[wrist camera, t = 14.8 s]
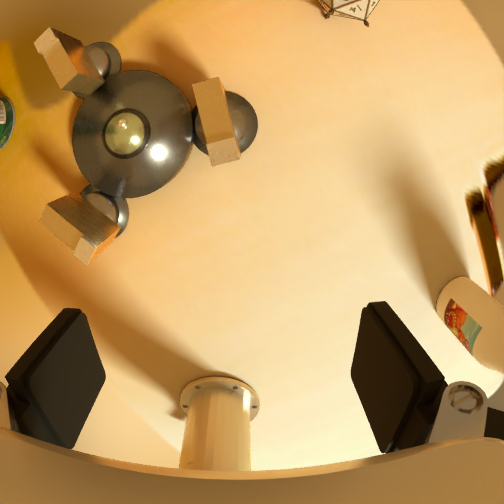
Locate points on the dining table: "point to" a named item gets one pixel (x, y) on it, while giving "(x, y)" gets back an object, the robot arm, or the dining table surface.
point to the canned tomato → (6, 120)
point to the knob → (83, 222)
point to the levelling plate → (137, 133)
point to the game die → (349, 8)
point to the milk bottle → (474, 321)
